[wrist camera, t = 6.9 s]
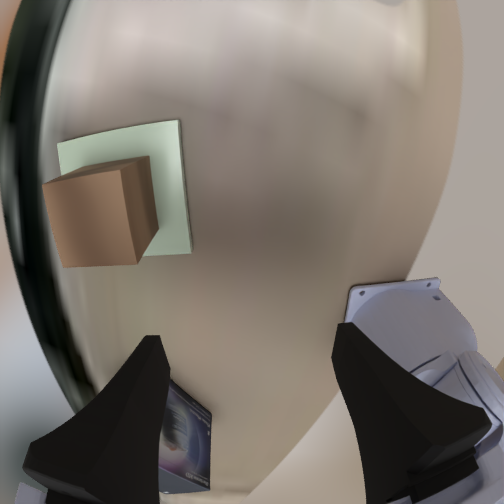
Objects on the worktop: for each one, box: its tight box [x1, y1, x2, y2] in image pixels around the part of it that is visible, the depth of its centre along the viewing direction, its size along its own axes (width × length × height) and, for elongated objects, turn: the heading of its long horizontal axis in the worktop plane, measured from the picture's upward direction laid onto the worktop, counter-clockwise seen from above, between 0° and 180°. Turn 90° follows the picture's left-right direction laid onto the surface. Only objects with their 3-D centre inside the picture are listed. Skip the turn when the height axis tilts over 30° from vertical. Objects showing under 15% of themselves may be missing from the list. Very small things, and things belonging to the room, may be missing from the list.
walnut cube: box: [42, 156, 159, 268], centre depth 16 cm, size 5×5×5 cm
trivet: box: [57, 120, 193, 256], centre depth 18 cm, size 9×9×1 cm
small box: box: [159, 380, 212, 494], centre depth 24 cm, size 11×6×10 cm, turn 29°
